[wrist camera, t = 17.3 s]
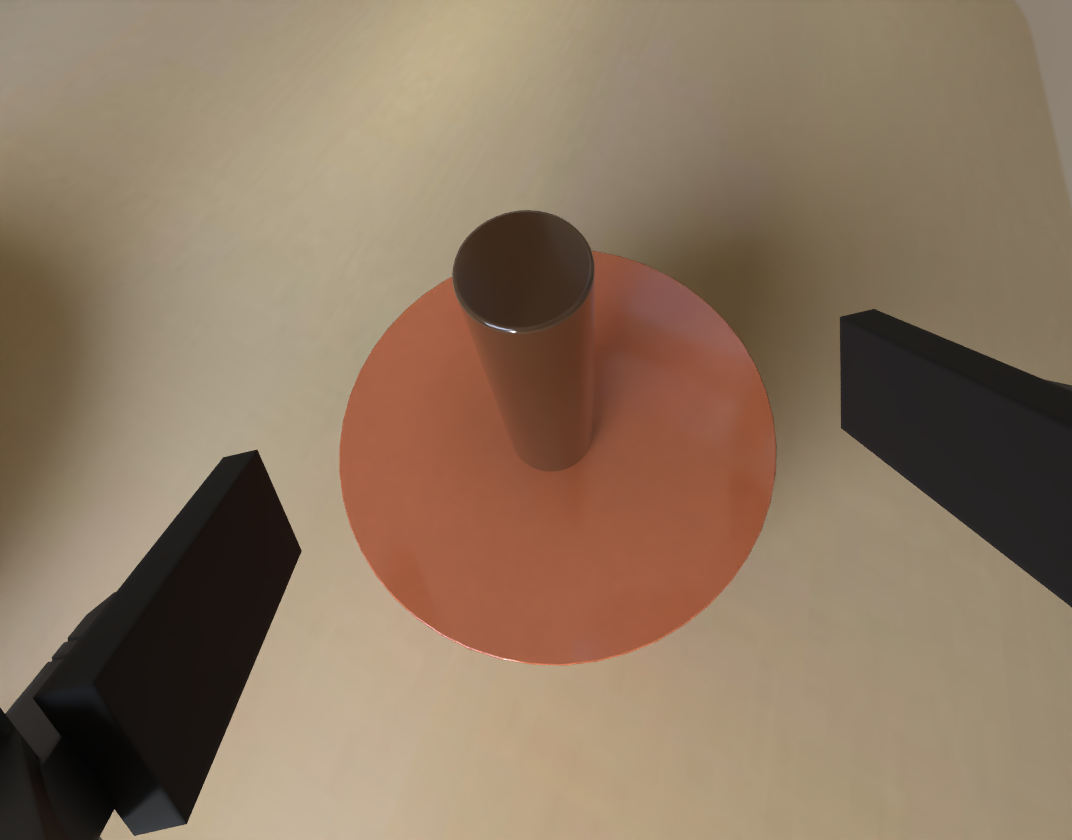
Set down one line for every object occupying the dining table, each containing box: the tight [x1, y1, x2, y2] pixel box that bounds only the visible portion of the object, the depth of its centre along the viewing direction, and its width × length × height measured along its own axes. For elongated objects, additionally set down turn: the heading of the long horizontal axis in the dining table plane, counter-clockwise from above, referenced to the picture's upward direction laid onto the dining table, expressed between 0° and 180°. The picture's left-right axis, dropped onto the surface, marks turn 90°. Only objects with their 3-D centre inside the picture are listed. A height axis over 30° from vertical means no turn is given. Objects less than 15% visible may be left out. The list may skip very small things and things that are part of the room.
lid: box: [340, 210, 776, 665], centre depth 16 cm, size 14×14×10 cm
